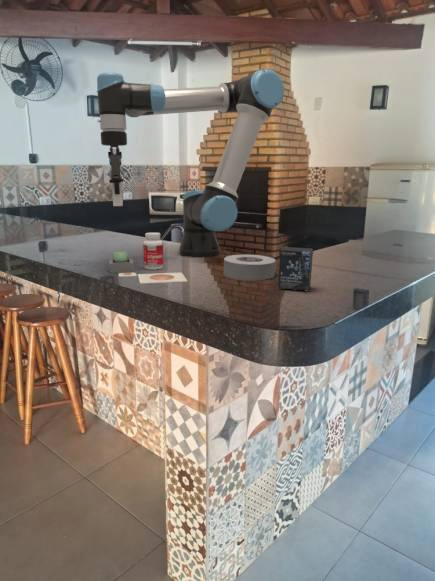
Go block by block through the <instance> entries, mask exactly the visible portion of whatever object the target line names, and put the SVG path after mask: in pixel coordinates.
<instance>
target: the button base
mask: <svg viewBox="0 0 435 581" xmlns="http://www.w3.org/2000/svg"><path fill="white" fill-rule="evenodd" d="M108 266H109V274H119V273H135V271H134V268H135V267H134V259H133V258H128V262H123V263H115V261H114V259H113V258H112V259H111V258H110V259H109V265H108Z"/></svg>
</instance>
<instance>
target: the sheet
mask: <svg viewBox="0 0 435 581" xmlns="http://www.w3.org/2000/svg"><path fill="white" fill-rule="evenodd" d="M137 276H138V278H137V279H138V280H139V284H140V285H149V284H170V283H188V280H187V278H186V277H185V275H184V274H183V272H164V273H163V272H162V273H161V272H160V273H159V272H158V273H141V274H140V273H139V274H137Z"/></svg>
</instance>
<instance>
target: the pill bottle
mask: <svg viewBox="0 0 435 581" xmlns="http://www.w3.org/2000/svg"><path fill="white" fill-rule="evenodd" d="M144 236H145V240H143V243H142V245H143V246H142V247H143V248H142V249H143V250H142V252H143V268H144V269H145V270H150V271H155V270H156V271H157V269H158V270H161V269H163V268H164V242H163V241H162V240H161V233H160V232H145V234H144Z"/></svg>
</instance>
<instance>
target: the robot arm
mask: <svg viewBox="0 0 435 581" xmlns="http://www.w3.org/2000/svg"><path fill="white" fill-rule="evenodd" d="M96 83H97V84H96V85H97V86H96V88H97V90H96V93H97V102H98V103H97V104H98V116H99V118H97V123H99V128H100V130H101V132H100V143H101V145H102V146H105V147H107V146H108V147H109V146H110V147H109V151H108V152H107V154H108V155H107V158H108V159H109V160H108V161H109V162H108V163H109V165H110V169H111V170H110V172H111V179H108V180H109V181H108V182H109V184H111V191H112V206H113V207H123V206H124V203H123V202H124V200H123V199H124V198H123V187H122V183H123V182H124V178H122V176H121V166H122V158H123V155H122V151H120V147H119V146H121V147H122V146H123V147H124V146H127V145H128V134H127V133H126V131H127V117H126V116H128V117H130V118H139V117H142V116H153V115H167V114H181V113H182V114H183V113H196V112H212V111H213V112H214V111H220V112H221V113H223V114H226V113H228V114H229V113H234V114H235V113H237V115H236V119H235V121H234V123H233V126H232V128H231V132H230V133H229V137H228V140H227V143H226V145H225V147H224V150H223V153H222V156H221V158H220V161H219V163H218V165H217V166H218V167H217V169H216V171H215V174H214V176H213V180H212V181H210V182H209V183H207V184H206V185H205V188H204V189H198V190H197V189H196V190H188V191H186V192H184V193H183V197H182V198H183V200H182V204H183V205H182V206H183V211H182V212H183V213H182V214H183V235H182V239H181V241H180V244H179V249H178V253H179V255H180V256H183V257H187V258H212V257H213V258H214V257H217V256H220V255H221V254H220V253H221V252H220V251H221V248H220V245H219V242H218V239H217V236H216V232H223V231H225V230H228V229H229V228H231V227H232V226H233V225H234V224H235V222H236V220H237V218H238V207H237V203H238V200H239V196H238V193H237V190H238V188H239V185H240V182H241V180H242V177H243V174H244V172H245V169H246V166H247V164H248V161H249V158H250V156H251V153H252V151H253V148H254V146H255V143H256V140H257V138H258V135H259V133H260V130H261V128H262V125H263V123H267V122H268V121H269V119H270V116H271V114H272V112H273V109H275V108H276V107H277V106H278V105H280V104H281V103H282V100H283V98H284V96H285V85H284V84H283V80H282V78H281V76H280V75H279V74H278V72H276V71H274V70H272V69H269V68H265V69H258V70H256V71H255V72H254V73H251V74H249V75H246V76H243V77H240V78H239V79H236V80H234V81H229V82H221V83H219V85H218V86H203V87H201V86H199V87H182V88H164V87H163V85H160V84H153V83H151V84H150V83H133V82H126V81H125V80H124V76H123V75H122V74H120V73H119V72H117V73H116V72H102V73H99V74H98V75H97V77H96Z"/></svg>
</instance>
